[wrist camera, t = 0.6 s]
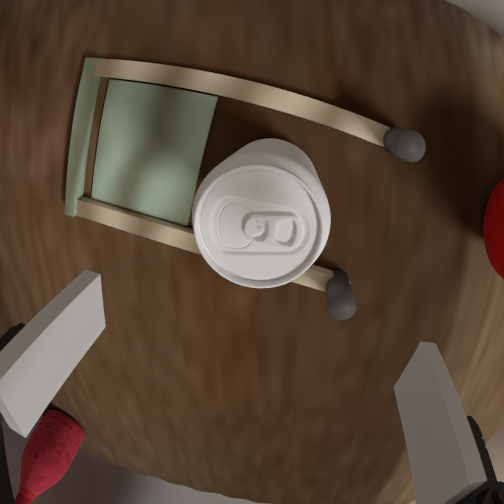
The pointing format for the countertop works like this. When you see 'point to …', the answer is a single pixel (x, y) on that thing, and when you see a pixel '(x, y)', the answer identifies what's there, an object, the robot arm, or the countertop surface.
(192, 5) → the countertop surface
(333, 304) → the bay
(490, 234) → the tomato
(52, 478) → the wine bottle
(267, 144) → the beverage can
